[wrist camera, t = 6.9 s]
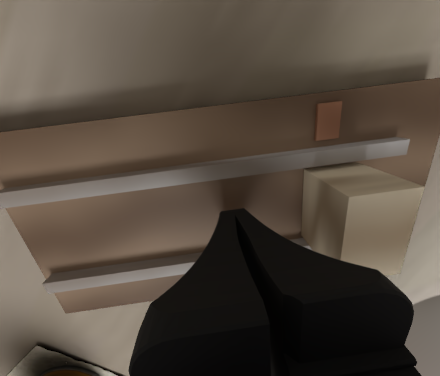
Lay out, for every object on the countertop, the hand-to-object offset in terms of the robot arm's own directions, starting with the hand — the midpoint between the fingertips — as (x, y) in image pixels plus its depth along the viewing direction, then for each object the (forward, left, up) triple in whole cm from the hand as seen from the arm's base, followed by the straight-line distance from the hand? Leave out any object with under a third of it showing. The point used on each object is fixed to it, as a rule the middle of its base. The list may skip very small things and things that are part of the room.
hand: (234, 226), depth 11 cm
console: (0, 0, -3) cm, 3 cm away
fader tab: (0, -6, -1) cm, 6 cm away
